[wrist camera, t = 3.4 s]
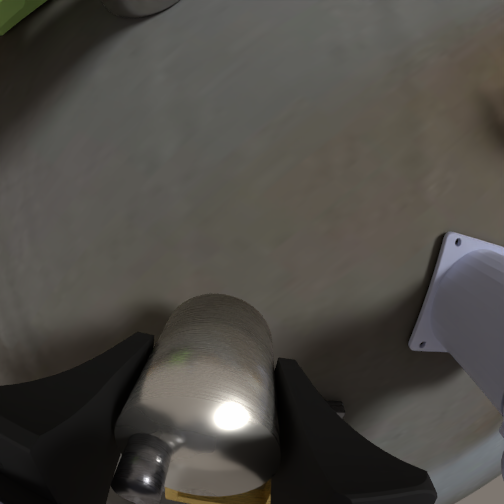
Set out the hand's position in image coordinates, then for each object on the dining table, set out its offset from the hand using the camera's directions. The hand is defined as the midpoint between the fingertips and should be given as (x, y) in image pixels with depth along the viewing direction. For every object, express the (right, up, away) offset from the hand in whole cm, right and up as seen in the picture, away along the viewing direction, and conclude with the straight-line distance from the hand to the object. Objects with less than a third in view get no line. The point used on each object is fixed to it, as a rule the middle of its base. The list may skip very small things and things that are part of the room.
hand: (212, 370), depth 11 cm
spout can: (0, 0, +2) cm, 2 cm away
